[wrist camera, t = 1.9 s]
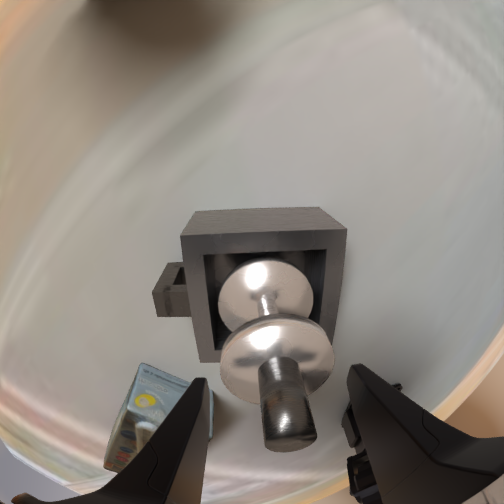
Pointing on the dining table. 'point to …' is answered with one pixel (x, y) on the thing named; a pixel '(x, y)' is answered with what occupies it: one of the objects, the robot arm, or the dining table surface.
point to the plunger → (274, 348)
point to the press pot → (243, 249)
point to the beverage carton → (144, 414)
